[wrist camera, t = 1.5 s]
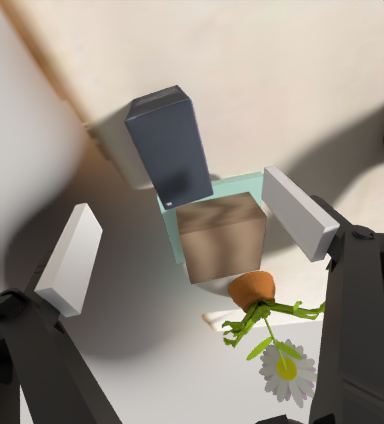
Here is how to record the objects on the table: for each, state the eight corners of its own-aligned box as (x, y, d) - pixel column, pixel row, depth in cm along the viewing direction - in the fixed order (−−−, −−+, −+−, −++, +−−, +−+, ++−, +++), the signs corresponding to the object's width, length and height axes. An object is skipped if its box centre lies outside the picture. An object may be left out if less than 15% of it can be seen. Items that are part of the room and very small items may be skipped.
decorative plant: (223, 314, 66) (252, 422, 46) (192, 280, 51) (216, 418, 32) (303, 284, 62) (373, 389, 42) (295, 237, 47) (396, 367, 27)
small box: (200, 159, 31) (217, 197, 23) (160, 172, 32) (163, 213, 23) (180, 82, 25) (194, 96, 16) (130, 99, 25) (119, 121, 17)
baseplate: (260, 171, 34) (264, 175, 33) (253, 242, 46) (256, 247, 44) (156, 192, 34) (156, 197, 32) (175, 258, 45) (176, 264, 44)
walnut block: (249, 191, 35) (267, 217, 29) (245, 242, 43) (259, 269, 37) (174, 206, 34) (179, 235, 29) (186, 254, 42) (191, 284, 37)
